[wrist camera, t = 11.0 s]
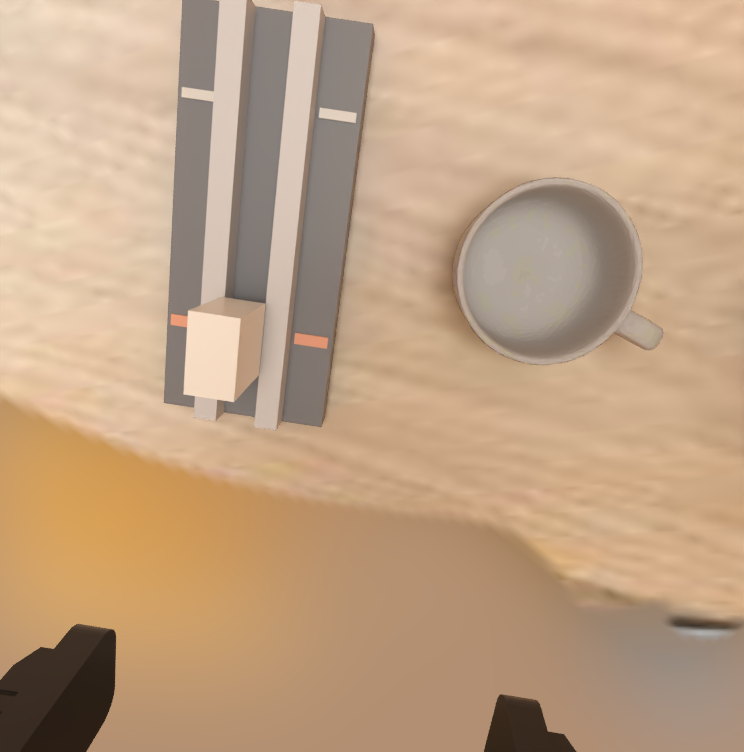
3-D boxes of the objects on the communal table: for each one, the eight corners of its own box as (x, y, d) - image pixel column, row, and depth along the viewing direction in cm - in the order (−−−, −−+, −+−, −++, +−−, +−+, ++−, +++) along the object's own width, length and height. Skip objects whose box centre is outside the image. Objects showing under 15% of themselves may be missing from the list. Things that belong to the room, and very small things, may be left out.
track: (374, 34, 37) (371, 12, 33) (324, 418, 44) (317, 437, 40) (194, 7, 37) (169, -18, 33) (174, 394, 44) (152, 411, 40)
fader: (272, 299, 39) (240, 318, 31) (266, 367, 41) (233, 402, 33) (230, 292, 39) (187, 310, 31) (225, 360, 41) (183, 394, 33)
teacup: (415, 274, 41) (419, 286, 33) (521, 151, 38) (551, 134, 30) (553, 394, 42) (586, 432, 35) (662, 285, 40) (724, 300, 32)
